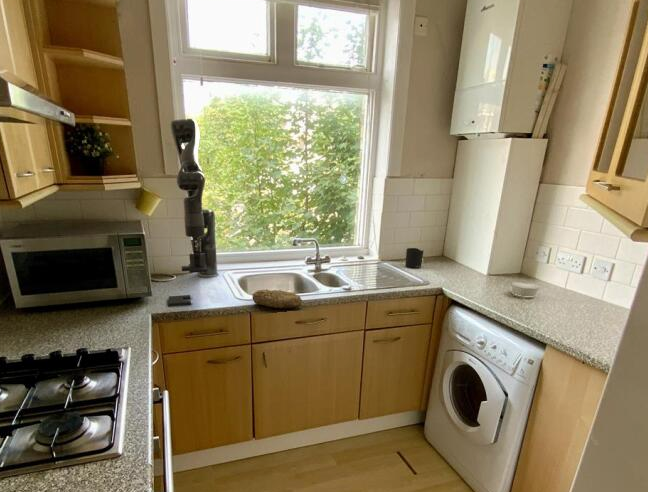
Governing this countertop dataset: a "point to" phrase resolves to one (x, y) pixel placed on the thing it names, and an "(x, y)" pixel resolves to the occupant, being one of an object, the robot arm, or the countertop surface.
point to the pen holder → (414, 258)
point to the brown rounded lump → (277, 299)
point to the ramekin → (524, 289)
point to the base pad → (179, 300)
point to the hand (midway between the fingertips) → (197, 265)
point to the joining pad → (194, 269)
